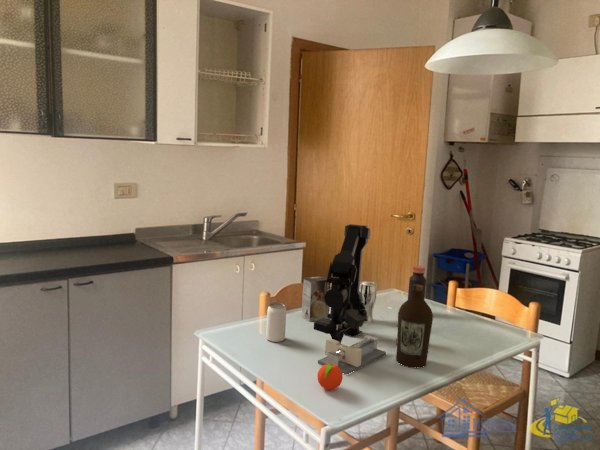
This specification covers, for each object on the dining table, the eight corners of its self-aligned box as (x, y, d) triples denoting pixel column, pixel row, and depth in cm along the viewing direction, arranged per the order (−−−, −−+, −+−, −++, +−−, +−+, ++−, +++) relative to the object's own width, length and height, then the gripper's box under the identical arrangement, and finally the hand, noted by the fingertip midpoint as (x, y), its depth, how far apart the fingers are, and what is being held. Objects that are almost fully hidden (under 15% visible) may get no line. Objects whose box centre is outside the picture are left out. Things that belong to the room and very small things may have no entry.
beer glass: (377, 320, 195) (380, 283, 193) (369, 324, 190) (372, 286, 187) (361, 316, 199) (363, 280, 197) (353, 320, 193) (356, 283, 191)
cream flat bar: (328, 353, 156) (330, 338, 156) (360, 365, 149) (361, 349, 148) (325, 354, 155) (326, 339, 154) (357, 367, 147) (358, 351, 146)
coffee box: (320, 314, 199) (323, 275, 197) (329, 319, 194) (331, 279, 191) (300, 316, 194) (303, 277, 192) (309, 321, 189) (311, 281, 187)
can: (282, 343, 166) (284, 309, 164) (263, 341, 167) (265, 306, 165) (286, 336, 172) (288, 303, 170) (268, 334, 173) (270, 301, 172)
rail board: (357, 345, 168) (357, 342, 168) (385, 354, 161) (386, 351, 161) (317, 363, 151) (317, 360, 151) (347, 375, 144) (347, 371, 144)
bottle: (424, 316, 203) (429, 269, 201) (408, 315, 203) (412, 268, 201) (421, 311, 210) (425, 265, 207) (405, 310, 210) (409, 264, 207)
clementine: (336, 398, 130) (338, 373, 129) (311, 392, 133) (313, 367, 132) (344, 386, 138) (346, 361, 137) (321, 380, 140) (322, 356, 139)
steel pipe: (366, 345, 166) (367, 334, 165) (376, 348, 163) (377, 338, 163) (326, 364, 149) (327, 352, 149) (337, 368, 146) (338, 356, 146)
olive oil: (397, 353, 163) (403, 279, 160) (430, 359, 160) (437, 284, 156) (391, 365, 153) (397, 286, 150) (425, 372, 150) (433, 292, 146)
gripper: (344, 311, 142) (340, 363, 144) (378, 299, 156) (374, 346, 158) (314, 302, 149) (311, 351, 151) (349, 291, 163) (346, 337, 165)
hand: (337, 346), depth 156 cm, fingers closed
